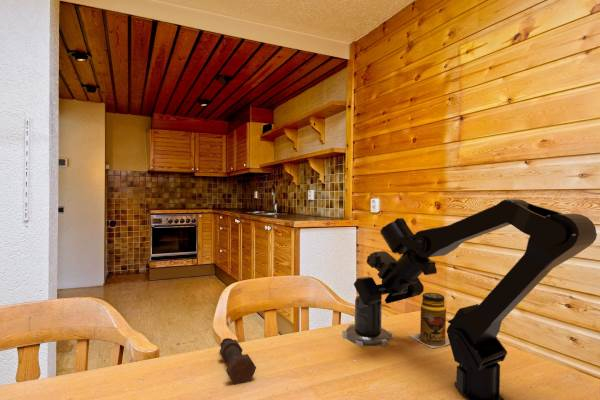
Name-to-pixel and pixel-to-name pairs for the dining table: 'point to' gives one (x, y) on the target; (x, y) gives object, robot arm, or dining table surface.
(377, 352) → the dining table surface
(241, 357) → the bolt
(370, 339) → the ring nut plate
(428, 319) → the condiment
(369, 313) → the supplement bottle
